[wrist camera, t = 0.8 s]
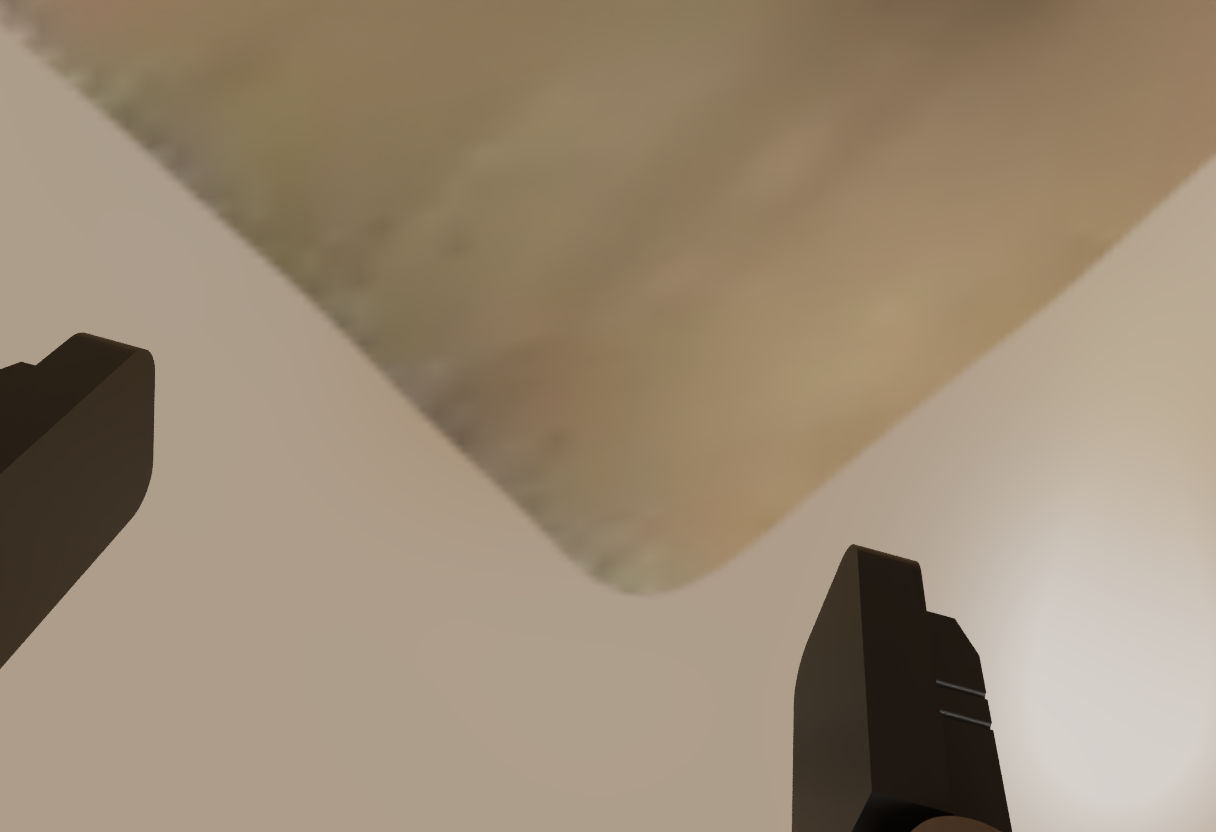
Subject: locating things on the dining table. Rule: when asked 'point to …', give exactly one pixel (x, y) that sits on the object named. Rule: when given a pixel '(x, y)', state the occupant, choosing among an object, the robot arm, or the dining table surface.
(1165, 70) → the dining table surface
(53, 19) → the dining table surface
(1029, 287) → the dining table surface
